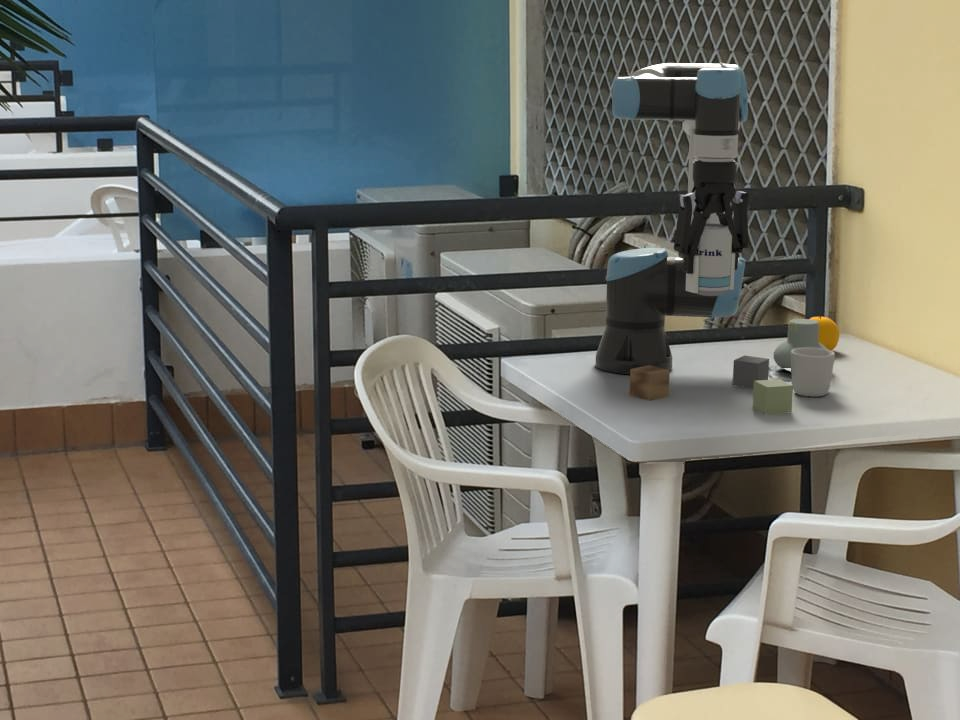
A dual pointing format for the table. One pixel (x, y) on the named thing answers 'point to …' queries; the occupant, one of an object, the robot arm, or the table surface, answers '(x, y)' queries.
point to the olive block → (772, 396)
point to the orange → (827, 332)
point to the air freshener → (797, 340)
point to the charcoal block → (749, 371)
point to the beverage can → (714, 260)
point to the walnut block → (649, 382)
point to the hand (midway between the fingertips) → (709, 289)
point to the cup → (811, 370)
